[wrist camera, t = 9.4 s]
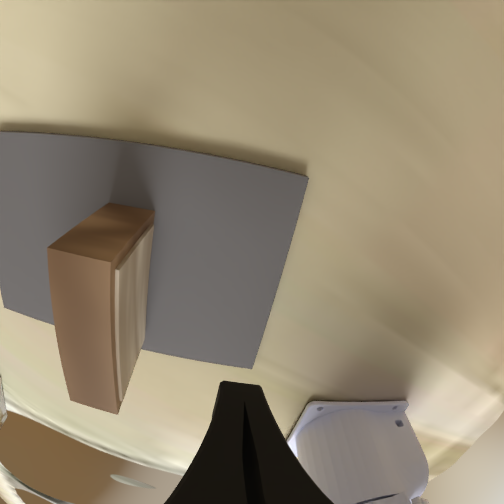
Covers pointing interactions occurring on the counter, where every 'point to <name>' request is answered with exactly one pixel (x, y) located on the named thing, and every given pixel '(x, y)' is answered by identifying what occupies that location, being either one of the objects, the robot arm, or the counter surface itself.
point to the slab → (101, 301)
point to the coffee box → (2, 407)
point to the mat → (155, 234)
